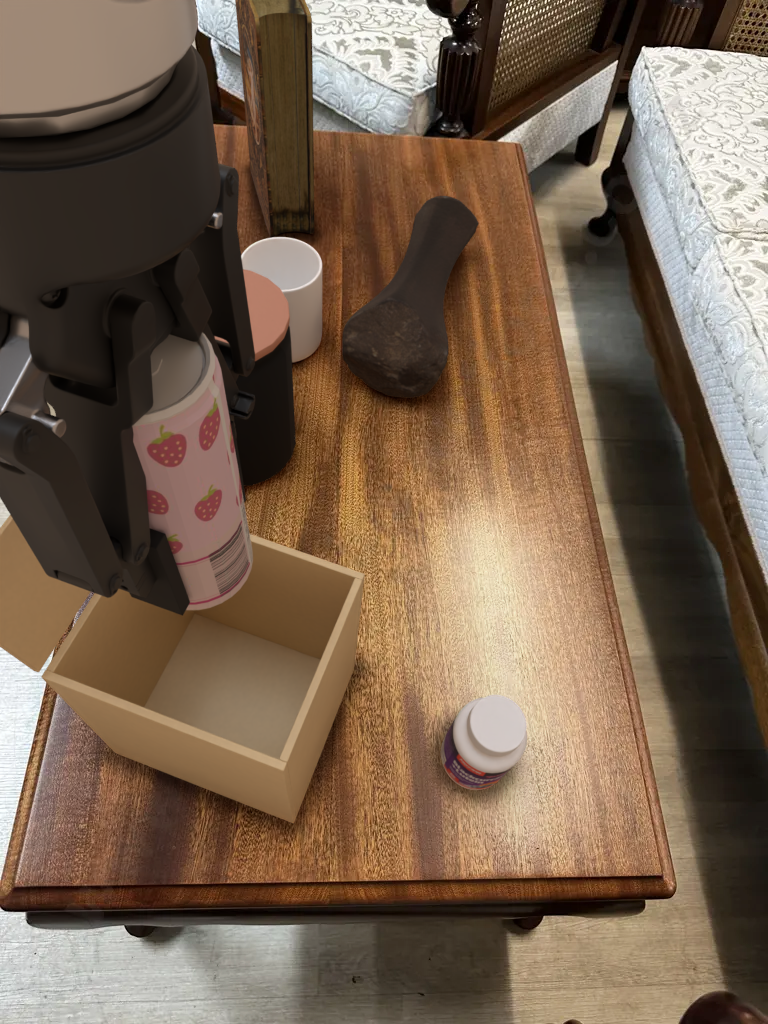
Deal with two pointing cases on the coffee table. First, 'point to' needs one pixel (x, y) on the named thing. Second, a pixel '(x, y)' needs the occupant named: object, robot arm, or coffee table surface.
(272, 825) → the coffee table surface
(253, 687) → the carton
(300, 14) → the book
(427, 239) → the dark brown bone
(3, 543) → the flap
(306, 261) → the mug
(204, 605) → the beverage can
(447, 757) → the pill bottle
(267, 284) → the coffee jar
